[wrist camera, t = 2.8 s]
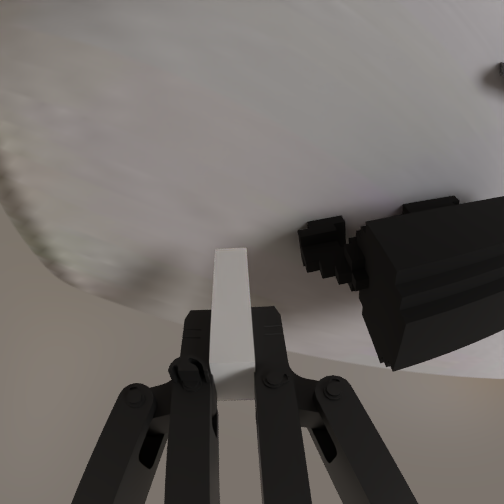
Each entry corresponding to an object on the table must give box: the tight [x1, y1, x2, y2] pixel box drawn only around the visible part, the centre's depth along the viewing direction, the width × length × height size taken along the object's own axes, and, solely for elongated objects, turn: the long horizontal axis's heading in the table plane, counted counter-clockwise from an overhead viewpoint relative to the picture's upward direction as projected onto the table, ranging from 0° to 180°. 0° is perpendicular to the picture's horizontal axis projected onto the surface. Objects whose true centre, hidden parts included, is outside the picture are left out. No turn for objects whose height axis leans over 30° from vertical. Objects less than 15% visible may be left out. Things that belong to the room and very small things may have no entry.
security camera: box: [298, 196, 504, 371], centre depth 16 cm, size 7×18×10 cm, turn 102°
